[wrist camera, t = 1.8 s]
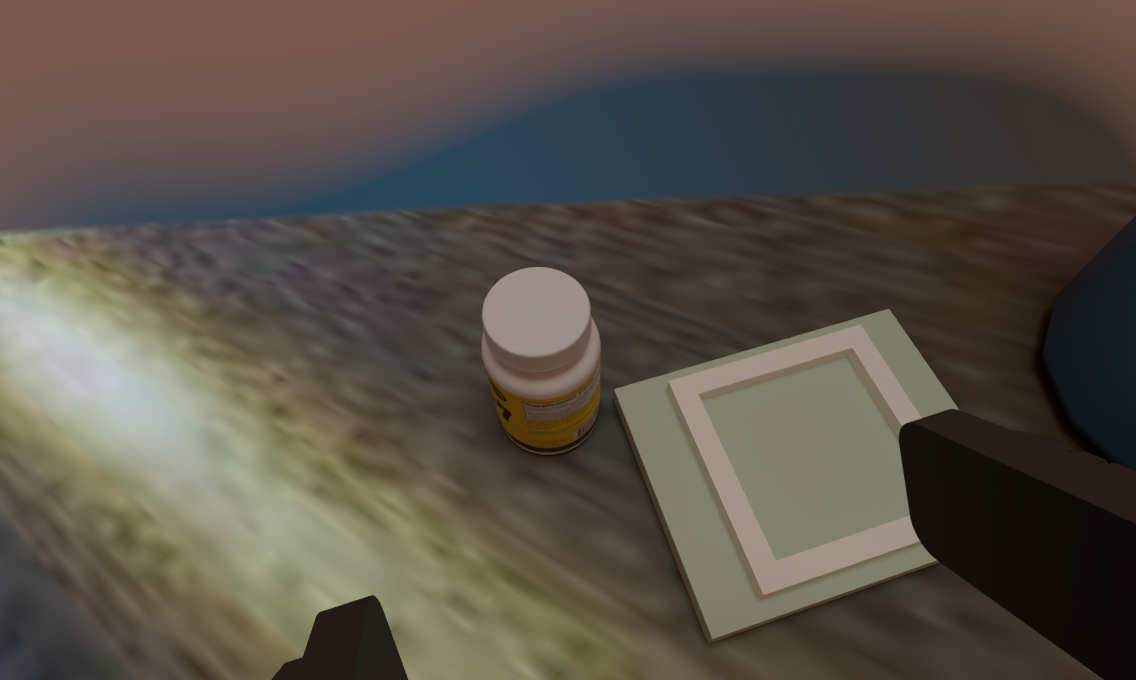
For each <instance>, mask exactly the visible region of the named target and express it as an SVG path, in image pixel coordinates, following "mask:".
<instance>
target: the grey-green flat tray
mask: <svg viewBox="0 0 1136 680" xmlns="http://www.w3.org/2000/svg"><path fill="white" fill-rule="evenodd" d="M614 404H615V406H616V409H617V411H618V414H619V417H620V419H621V422H622V424H623V427H624V429H625V432H626V435H627V437H628V440H629V442H630V445H631V448H632V450H633V453H634V455H635V458H636V460H637V463H638V466H639V468H640V471H641V473H642V476H643V478H644V481H645V484H646V486H647V489H648V491H649V494H650V496H651V499H652V502H653V504H654V507H655V509H656V512H657V514H658V517H659V520H660V522H661V525H662V527H663V530H664V533H665V535H666V538H667V540H668V543H669V545H670V548H671V551H672V553H673V556H674V558H675V561H676V563H677V566H678V569H679V571H680V574H681V576H682V579H683V581H684V584H685V587H686V589H687V592H688V594H689V597H690V599H691V602H692V605H693V607H694V610H695V612H696V615H697V617H698V620H699V623H700V625H701V628H702V630H703V633H704V636H705V638H706V641H707V643H708V644H709V643H712V642H715V641H718V640H721V639H724V638H726V637H729V636H732V635H735V634H738V633H741V632H743V631H746V630H749V629H752V628H755V627H758V626H761V625H763V624H766V623H769V622H772V621H775V620H778V619H780V618H783V617H786V616H789V615H792V614H795V613H798V612H800V611H803V610H806V609H809V608H812V607H815V606H817V605H820V604H823V603H826V602H829V601H832V600H835V599H837V598H840V597H843V596H846V595H849V594H852V593H854V592H857V591H860V590H863V589H866V588H869V587H871V586H874V585H877V584H880V583H883V582H886V581H889V580H891V579H894V578H897V577H900V576H903V575H906V574H908V573H911V572H914V571H917V570H920V569H923V568H926V567H928V566H931V565H934V564H937V563H940V562H939V561H937V560H936V559H935V558H934V557H932V556H931V555H930V554H929V553H928V551H927V550H926V549H925V548H924V546H923V545H922V544H921V542H920V540H919V539H918V537H917V535H916V533H915V531H914V528H913V526H912V523H911V519H910V514H909V507H908V500H907V494H906V487H905V480H904V474H903V467H902V460H901V454H900V447H899V432H900V429H901V427H902V426H903V425H904V424H906V423H908V422H911V421H915V420H918V419H921V418H924V417H927V416H930V415H933V414H936V413H939V412H942V411H945V410H949V409H957V410H959V409H958V408H957V406H956V405H955V403H954V402H953V400H952V399H951V398H950V396H949V395H948V393H947V392H946V390H945V389H944V387H943V386H942V385H941V383H940V382H939V380H938V379H937V377H936V376H935V374H934V373H933V372H932V370H931V369H930V367H929V366H928V364H927V363H926V361H925V360H924V359H923V357H922V356H921V354H920V353H919V351H918V350H917V348H916V347H915V346H914V344H913V343H912V341H911V340H910V338H909V337H908V336H907V334H906V333H905V331H904V330H903V328H902V327H901V325H900V324H899V323H898V321H897V320H896V318H895V317H894V315H893V314H892V312H891V311H890V310H889V309H887V310H883V311H880V312H877V313H873V314H870V315H866V316H863V317H860V318H856V319H853V320H849V321H846V322H843V323H839V324H836V325H832V326H829V327H825V328H822V329H819V330H815V331H812V332H808V333H805V334H802V335H798V336H795V337H791V338H788V339H784V340H781V341H778V342H774V343H771V344H767V345H764V346H761V347H757V348H754V349H750V350H747V351H743V352H740V353H737V354H733V355H730V356H726V357H723V358H720V359H716V360H713V361H709V362H706V363H702V364H699V365H696V366H692V367H689V368H685V369H682V370H679V371H675V372H672V373H668V374H665V375H661V376H658V377H655V378H651V379H648V380H644V381H641V382H638V383H634V384H631V385H627V386H624V387H620V388H617V389H614Z"/></svg>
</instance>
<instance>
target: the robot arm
mask: <svg viewBox="0 0 1136 680" xmlns="http://www.w3.org/2000/svg"><path fill="white" fill-rule="evenodd" d="M899 447H900V454H901V460H902V467H903V474H904V480H905V487H906V494H907V500H908V507H909V514H910V519H911V523H912V526H913V528H914V531H915V533H916V535H917V537H918V539H919V540H920V542H921V544H922V545H923V546H924V548H925V549H926V550H927V551H928V553H929V554H930V555H931V556H932V557H934V558H935V559H936V560H937V561H939V562H940V563H942V564H943V565H944V566H946V567H947V568H949V569H950V570H951V571H953V572H954V573H956V574H957V575H958V576H960V577H961V578H963V579H964V580H965V581H967V582H968V583H970V584H971V585H972V586H974V587H975V588H977V589H978V590H979V591H981V592H982V593H984V594H985V595H986V596H988V597H989V598H991V599H992V600H993V601H995V602H996V603H998V604H999V605H1000V606H1002V607H1003V608H1005V609H1006V610H1007V611H1009V612H1010V613H1012V614H1013V615H1014V616H1016V617H1017V618H1019V619H1020V620H1021V621H1023V622H1024V623H1026V624H1027V625H1028V626H1030V627H1031V628H1033V629H1034V630H1035V631H1037V632H1038V633H1040V634H1041V635H1042V636H1044V637H1045V638H1047V639H1048V640H1049V641H1051V642H1052V643H1054V644H1055V645H1056V646H1058V647H1059V648H1061V649H1062V650H1063V651H1065V652H1066V653H1068V654H1069V655H1070V656H1072V657H1073V658H1075V659H1076V660H1077V661H1079V662H1080V663H1082V664H1083V665H1084V666H1086V667H1087V668H1089V669H1090V670H1091V671H1093V672H1094V673H1096V674H1097V675H1098V676H1100V677H1101V678H1103V679H1104V680H1136V471H1135V470H1132V469H1129V468H1127V467H1124V466H1121V465H1119V464H1116V463H1111V464H1108V463H1107V462H1106V459H1103V458H1100V457H1098V456H1095V455H1092V454H1090V453H1087V452H1084V451H1082V452H1078V451H1077V450H1076V448H1074V447H1071V446H1069V445H1066V444H1063V443H1061V442H1058V441H1055V440H1053V439H1050V438H1047V437H1045V436H1042V435H1038V434H1032V433H1026V432H1020V431H1014V430H1009V429H1006V428H1004V427H1001V426H999V425H996V424H994V423H991V422H988V421H986V420H983V419H981V418H978V417H976V416H973V415H970V414H968V413H965V412H963V411H960V410H957V409H949V410H945V411H942V412H939V413H936V414H933V415H930V416H927V417H924V418H921V419H918V420H915V421H911V422H908V423H906V424H904V425H903V426H902V427H901V429H900V432H899ZM272 680H408V678H407V675H406V672H405V669H404V667H403V664H402V661H401V658H400V655H399V653H398V650H397V647H396V644H395V642H394V639H393V636H392V633H391V630H390V628H389V625H388V622H387V619H386V617H385V614H384V611H383V609H382V606H381V604H380V602H379V601H378V599H377V598H376V597H375V596H374V595H371V596H368V597H365V598H362V599H359V600H356V601H353V602H350V603H347V604H343V605H340V606H337V607H334V608H331V609H328V610H325V611H322V612H320V613H318V615H317V616H316V619H315V622H314V625H313V628H312V631H311V634H310V637H309V640H308V643H307V646H306V649H305V652H304V655H303V657H302V658H299V659H296V660H293V661H290V662H287V663H285V664H284V665H283V666H282V667H281V669H280V670H279V671H278V672H277V673H276V675H275V676H274V677H273V678H272Z"/></svg>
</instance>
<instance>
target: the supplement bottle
mask: <svg viewBox="0 0 1136 680" xmlns="http://www.w3.org/2000/svg"><path fill="white" fill-rule="evenodd" d="M482 321H483V327H484V333H483V337H482V346H481V350H482V358H483V363H484V367H485V370H486V373H487V377H488V380H489V384H490V387H491V391H492V394H493V398H494V401H495V405H496V408H497V412H498V415H499V418H500V421H501V424H502V427H503V429H504V431H505V432H506V434H507V435H508V436H509V438H510V439H511V440H512V441H513V442H514V443H515V444H517V445H518V446H519V447H521V448H523V449H525V450H527V451H529V452H532V453H536V454H542V455H553V454H559V453H563V452H566V451H569V450H571V449H573V448H575V447H577V446H578V445H580V444H581V443H583V442H584V441H585V440H586V439H587V438H588V437H589V435H590V434H591V433H592V431H593V429H594V428H595V426H596V423H597V421H598V417H599V412H600V358H601V344H600V337H599V332H598V330H597V327H596V325H595V322H594V321H593V319H592V317H591V308H590V302H589V299H588V296H587V294H586V292H585V291H584V289H583V288H582V286H581V285H580V284H579V283H578V282H577V281H576V280H575V279H573V278H572V277H571V276H569V275H567V274H565V273H563V272H561V271H558V270H555V269H551V268H543V267H533V268H526V269H521V270H518V271H515V272H513V273H511V274H509V275H507V276H505V277H504V278H502V279H501V280H500V281H498V282H497V283H496V284H495V285H494V286H493V287H492V289H491V290H490V291H489V293H488V295H487V296H486V299H485V301H484V305H483V309H482Z"/></svg>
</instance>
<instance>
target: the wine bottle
mask: <svg viewBox="0 0 1136 680" xmlns="http://www.w3.org/2000/svg"><path fill="white" fill-rule="evenodd" d="M1042 365H1043V367H1044V369H1045V371H1046V373H1047V376H1048V378H1049V380H1050V382H1051V384H1052V387H1053V389H1054V391H1055V393H1056V395H1057V397H1058V400H1059V402H1060V404H1061V406H1062V408H1063V411H1064V413H1065V415H1066V417H1067V419H1068V422H1069V424H1070V426H1071V427H1073V428H1074V429H1075V430H1076V431H1077V432H1078V433H1079V434H1080V435H1081V436H1083V437H1084V438H1085V439H1086V440H1087V441H1088V442H1089V443H1090V444H1092V445H1093V446H1094V447H1095V448H1096V449H1097V450H1098V451H1099V452H1100V453H1102V454H1103V455H1104V456H1105V457H1106V458H1107V459H1108V460H1109V461H1111V462H1112V463H1116V464H1119V465H1121V466H1124V467H1127V468H1129V469H1132V470H1135V471H1136V216H1135V217H1134V218H1133V219H1132V220H1131V221H1130V222H1129V223H1128V224H1127V225H1126V226H1125V227H1124V228H1123V229H1122V230H1121V231H1120V232H1119V233H1118V234H1117V235H1116V236H1115V237H1114V238H1113V239H1112V240H1111V241H1110V242H1109V243H1108V244H1107V245H1106V246H1105V247H1104V248H1103V249H1102V250H1101V251H1100V252H1099V253H1098V254H1097V255H1096V256H1095V257H1094V258H1093V259H1092V260H1091V261H1090V262H1089V263H1088V264H1087V265H1086V266H1085V267H1084V268H1083V269H1082V270H1081V271H1080V272H1079V273H1078V274H1077V275H1076V276H1075V277H1074V278H1073V279H1072V280H1071V281H1070V282H1069V283H1068V284H1067V285H1066V286H1065V288H1064V289H1063V290H1062V291H1061V292H1060V293H1059V294H1058V295H1057V296H1056V297H1055V300H1054V304H1053V309H1052V314H1051V318H1050V323H1049V328H1048V332H1047V337H1046V342H1045V346H1044V351H1043V357H1042Z"/></svg>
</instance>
